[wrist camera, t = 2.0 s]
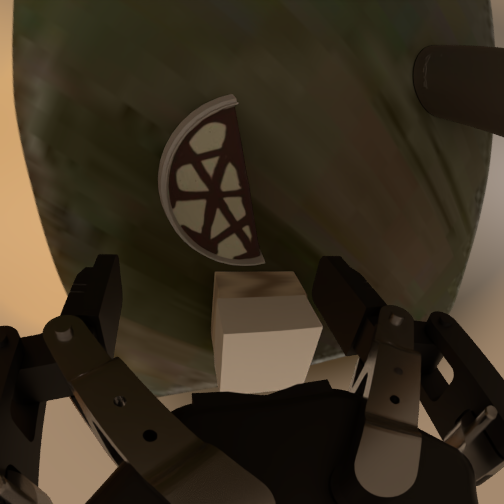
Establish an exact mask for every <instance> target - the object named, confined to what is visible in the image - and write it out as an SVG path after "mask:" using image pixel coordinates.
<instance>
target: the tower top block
mask: <svg viewBox="0 0 504 504" xmlns="http://www.w3.org/2000/svg"><path fill="white" fill-rule="evenodd" d="M322 328H323V326H322V324H321V323H320V321H319V319H318V317H317V315H316V314H315V312H314V310H313V308H312V306H311V305H310V303H309V301H308V299H307V298H306V296H305V295H294V296H273V297H247V298H217V305H216V325H215V348H214V364H215V370H216V376H217V382H218V388H219V392H226V391H229V392H236V393H245V394H249V393H259V392H268V391H276V390H283V389H286V388H288V387H291V386H293V385H296V384H301V383H304V381H305V378H306V375H307V373H308V370H309V367H310V364H311V361H312V358H313V355H314V352H315V349H316V346H317V343H318V340H319V337H320V334H321V331H322Z"/></svg>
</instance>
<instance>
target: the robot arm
mask: <svg viewBox="0 0 504 504" xmlns="http://www.w3.org/2000/svg"><path fill="white" fill-rule="evenodd" d="M413 77H414V86H415V89H416V93H417V95H418V98H419V100H420V102H421V103H422V105H423V107H424V108H425V109H426V110H427V111H428V112H429V113H431V114H432V115H433V116H436V117H439V118H443V119H446V120H450V121H454V122H457V123H460V124H464V125H467V126H471V127H474V128H477V129H481V130H484V131H487V132H490V133H493V134H496V135H499V136H502V137H504V48H498V47H485V46H466V45H431V46H428V47H426V48H425V49H423V50H422V51H421V52H420V54H419V55H418V57H417V59H416V61H415V66H414V76H413ZM312 297H313V301H314V303H315V305H316V306H317V308H318V310H319V311H320V313H321V315H322V316H323V318H324V320H325V321H326V323H327V325H328V327H329V328H330V330H331V332H332V333H333V335H334V337H335V338H336V340H337V342H338V344H339V345H340V347H341V349H342V350H343V352H344V354H345V356H351V355H357V354H358V355H359V358H358V360H357V363H356V366H355V370H354V373H353V377H352V380H351V384H350V387H349V391H345V390H339V389H332V388H331V386H330V384H329V382H328V380H327V379H326V380H321V381H314V382H308V383H301V384H296V385H293V386H291V387H288V388H286V389H283V390H280V391H277V392H275V393H272V394H269V395H254V394H245V393H236V392H229V391H226V392H210V393H192V404H189V405H185V406H182V407H180V408H177V409H175V410H173V411H172V412H170V411H169V410H168V409H167V408H166V407H165V406H164V405H163V404H162V403H161V402H160V401H159V400H158V399H157V398H156V397H155V396H154V395H153V394H152V392H151V391H150V390H149V389H148V388H147V387H146V386H145V385H144V384H143V383H142V382H141V381H140V380H139V379H138V377H137V376H136V375H135V374H134V373H133V372H132V371H131V370H130V369H129V367H128V366H127V365H126V364H125V363H124V362H123V361H122V360H121V359H120V358H119V357H115V358H113V357H114V350H115V343H116V337H117V331H118V325H119V319H120V313H121V308H122V285H121V276H120V266H119V258H118V255H108V254H99V255H98V257H97V259H96V261H95V264H94V266H93V267H85V268H84V269H83V270H82V271H81V272H80V273H79V274H77V276H76V278H75V281H74V283H73V285H72V288H71V290H70V292H69V295H68V297H67V300H66V302H65V305H64V307H63V310H62V312H61V315H60V316H58V317H56V318H54V319H52V320H50V321H49V322H48V323H47V324H46V325H45V327H44V329H43V333H41V334H38V335H33V336H27V337H22V338H20V336H19V334H18V331H17V330H16V329H15V328H13V327H11V326H0V504H53V503H52V501H51V500H50V498H49V497H48V496H47V494H45V493H44V492H43V491H42V490H41V489H40V488H38V476H39V460H40V448H41V439H42V429H43V421H44V415H45V408H46V402H47V401H48V400H53V399H59V398H64V397H70V399H71V401H72V402H73V404H74V406H75V407H76V409H77V410H78V412H79V413H80V415H81V416H82V418H83V419H84V421H85V422H86V424H87V425H88V426H89V428H90V429H91V431H92V432H93V434H94V435H95V437H96V438H97V439H98V441H99V442H100V444H101V445H102V447H103V448H104V450H105V451H106V453H107V454H108V455H109V457H110V458H111V459H112V460H113V462H114V463H115V464H116V465H117V467H118V468H117V469H116V470H115V471H114V472H113V473H112V474H111V476H110V477H109V478H108V479H107V480H106V481H105V482H104V484H102V486H101V487H100V488H99V489H98V490H97V491H96V492H95V493H94V494H93V496H92V497H91V498H90V499H89V500H88V501H87V502H86V503H85V504H478V499H477V492H476V486H478V485H480V484H482V483H483V482H485V481H486V480H487V479H489V478H490V477H492V476H493V475H494V474H496V473H497V472H498V471H499V470H501V469H502V468H503V467H504V380H503V378H502V377H501V376H500V374H499V373H498V372H497V370H496V369H495V368H494V367H493V365H492V364H491V363H490V361H489V360H488V359H487V358H486V356H485V355H484V354H483V353H482V351H481V350H480V349H479V348H478V346H477V345H476V344H475V343H474V342H473V340H472V339H471V338H470V337H469V336H468V334H467V333H466V332H465V331H464V330H463V329H462V327H461V326H460V325H459V324H458V323H457V322H456V320H455V319H454V318H452V317H451V316H450V315H448V314H446V313H443V312H433V313H431V314H430V316H429V318H428V320H427V322H422V321H414V320H413V317H412V316H411V315H410V313H409V312H407V311H406V310H404V309H403V308H401V307H398V306H394V305H387V304H386V303H385V302H384V301H383V299H382V298H381V297H380V296H379V295H378V294H377V292H376V291H375V290H374V289H373V288H372V287H371V285H370V284H369V283H368V282H367V281H366V280H365V279H364V277H363V276H362V275H361V274H360V273H358V272H357V271H355V270H354V269H352V268H351V267H349V265H348V264H347V263H346V262H345V261H344V260H343V259H342V257H340V256H323V257H322V258H321V259H320V261H319V265H318V269H317V273H316V277H315V281H314V284H313V289H312ZM443 356H444V357H445V359H446V360H447V362H448V363H449V364H450V365H451V367H452V368H453V372H454V378H453V380H452V382H451V383H450V385H449V384H448V383H447V382H446V380H445V379H444V377H443V376H442V374H441V373H440V371H439V370H438V368H437V365H438V364H439V362H440V361H441V359H442V358H443ZM419 401H421V403H422V405H423V407H424V408H425V410H426V412H427V414H428V415H429V417H430V419H431V421H432V422H433V424H434V426H435V428H436V429H437V431H438V433H439V435H440V436H441V438H442V440H443V441H441V440H439V439H437V438H436V437H434V436H432V435H430V434H428V433H426V432H424V431H422V430H420V429H419V428H418V415H419Z"/></svg>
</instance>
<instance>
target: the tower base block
mask: <svg viewBox="0 0 504 504" xmlns="http://www.w3.org/2000/svg"><path fill="white" fill-rule="evenodd" d="M294 295H305V296H306V298H307V294H306V292H305V291H304V289H303V287H302V285H301V284H300V282H299V280H298V278H297V277H296V275H295V273H294V272H293V271H282V272H215V277H214V291H213V306H212V322H211V337H212V343H213V350H214V348H215V325H216V305H217V298H247V297H273V296H294Z"/></svg>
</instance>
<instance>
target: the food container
mask: <svg viewBox="0 0 504 504" xmlns="http://www.w3.org/2000/svg"><path fill="white" fill-rule="evenodd" d="M237 104H239V103H238V102H237V101H236V98H235V97H234V95H233V94H230V95H226V96H222V97H219V98H216V99H214V100H212V101H210V102H207V103H205V104H203V105H202V106H200V107H199V108H197V109H196V110H194V111H193V112H191V113H190V114H189V115H188V116H187V117H186V118H185V119H184V120H183V121H182V122H181V123H180V124H179V125H178V127H177V128H176V129H175V131H174V132H173V133H172V135H171V136H170V138H169V140H168V142H167V144H166V146H165V148H164V151H163V154H162V157H161V160H160V165H159V172H158V189H159V194H160V199H161V203H162V206H163V208H164V211H165V213H166V215H167V217H168V219H169V221H170V223H171V225H172V226H173V228H174V230H175V231H176V232H177V233H178V235H179V236H180V237H181V238H182V239H183V241H185V242H186V243H187V244H188V245H189V246H190V247H192V248H193V249H194V250H196V251H198V252H199V253H201V254H203V255H205V256H206V257H208V258H211V259H213V260H216V261H218V262H222V263H226V264H231V265H241V266H246V265H258V264H264V263H265V260H264V258H263V256H262V253H261V251H260V246H259V243H258V238H257V233H256V226H255V220H254V214H253V208H252V202H251V195H250V188H249V183H248V178H247V173H246V167H245V162H244V156H243V150H242V144H241V139H240V133H239V127H238V122H237V117H236V111H235V107H234V106H235V105H237Z"/></svg>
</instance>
